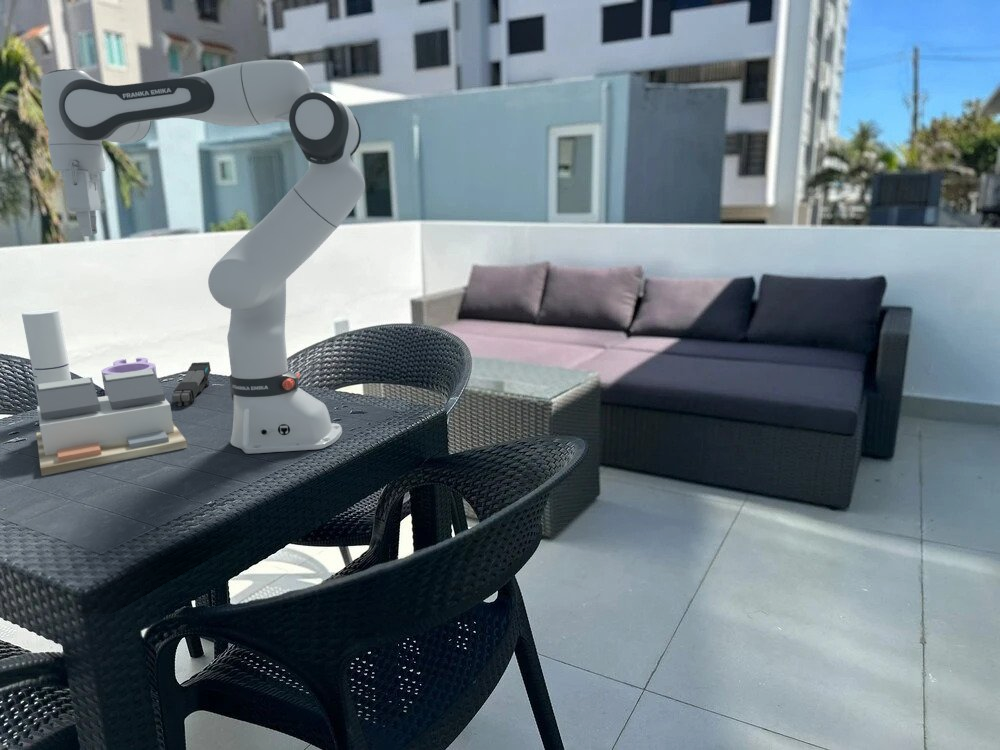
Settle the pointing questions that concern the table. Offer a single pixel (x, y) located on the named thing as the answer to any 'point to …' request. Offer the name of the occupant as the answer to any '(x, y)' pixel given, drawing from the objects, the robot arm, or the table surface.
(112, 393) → the right rocker
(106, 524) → the table surface
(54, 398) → the left rocker
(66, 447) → the switch unit
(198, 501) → the table surface
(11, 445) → the table surface
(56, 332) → the cylindrical container
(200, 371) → the gun
